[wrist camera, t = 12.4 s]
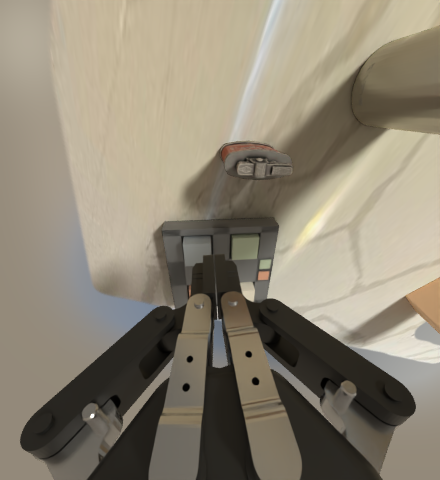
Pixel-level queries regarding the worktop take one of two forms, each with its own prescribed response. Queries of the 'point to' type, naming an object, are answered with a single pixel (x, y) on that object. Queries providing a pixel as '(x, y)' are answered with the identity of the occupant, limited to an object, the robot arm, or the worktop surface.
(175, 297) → the keypad
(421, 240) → the worktop surface
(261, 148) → the lighter
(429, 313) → the soap dispenser
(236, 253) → the sage key
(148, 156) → the worktop surface
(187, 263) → the slate key
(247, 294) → the cream key
